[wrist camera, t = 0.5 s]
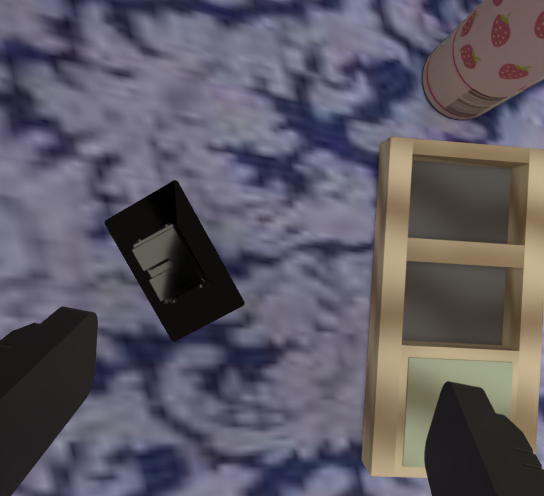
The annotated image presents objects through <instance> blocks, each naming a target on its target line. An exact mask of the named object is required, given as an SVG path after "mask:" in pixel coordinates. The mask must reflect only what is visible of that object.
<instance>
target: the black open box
mask: <svg viewBox="0 0 544 496" xmlns="http://www.w3.org/2000/svg"><path fill="white" fill-rule="evenodd" d="M105 225H106V227H107V229H108V230H109V232H110V234H111V236H112V237H113V239H114V241H115V243H116V244H117V246H118V248H119V250H120V251H121V253H122V255H123V257H124V258H125V260H126V262H127V264H128V265H129V267H130V269H131V271H132V272H133V274H134V276H135V278H136V279H137V281H138V283H139V284H140V286H141V288H142V290H143V291H144V293H145V295H146V297H147V298H148V300H149V302H150V304H151V305H152V307H153V309H154V311H155V312H156V314H157V316H158V318H159V319H160V321H161V323H162V325H163V326H164V328H165V330H166V332H167V333H168V335H169V337H170V339H171V340H172V341H177V340H179V339H180V338H182V337H184V336H186V335H188V334H190V333H192V332H194V331H196V330H198V329H200V328H202V327H203V326H205V325H207V324H209V323H211V322H213V321H215V320H217V319H219V318H221V317H223V316H225V315H226V314H228V313H230V312H232V311H234V310H236V309H238V308H240V307H242V306H243V305H244V304H245V302H244V300H243V299H242V297H241V295H240V293H239V291H238V290H237V288H236V286H235V284H234V282H233V281H232V279H231V277H230V275H229V273H228V271H227V270H226V268H225V266H224V264H223V262H222V261H221V259H220V257H219V255H218V253H217V252H216V250H215V248H214V246H213V244H212V243H211V241H210V239H209V237H208V235H207V234H206V232H205V230H204V228H203V226H202V224H201V223H200V221H199V219H198V217H197V215H196V214H195V212H194V210H193V208H192V206H191V205H190V203H189V201H188V199H187V197H186V196H185V194H184V192H183V190H182V188H181V187H180V185H179V183H178V181H176V180H174V181H172V182H170V183H169V184H167V185H165V186H164V187H162V188H160V189H159V190H157V191H155V192H153V193H152V194H150V195H148V196H147V197H145V198H143V199H141V200H140V201H138V202H136V203H135V204H133V205H131V206H129V207H128V208H126V209H124V210H123V211H121V212H119V213H118V214H116V215H114V216H112V217H111V218H109V219H107V220H106V221H105Z"/></svg>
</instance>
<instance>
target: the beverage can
mask: <svg viewBox="0 0 544 496" xmlns="http://www.w3.org/2000/svg"><path fill="white" fill-rule="evenodd" d="M543 79H544V0H484V1H483V2H482V3H481V4H480V5H479V6H478V7H477V8H476V9H475V10H474V11H473V12H472V13H471V14H470V15H469V16H468V17H467V18H466V19H465V20H464V21H463V22H462V23H461V24H460V25H459V26H458V27H457V28H456V29H455V30H454V31H453V32H452V33H451V34H450V35H449V36H448V37H447V38H446V39H445V40H444V41H443V42H442V43H441V44H440V45H439V46H438V47H437V48H436V49H435V50H434V51H433V52H432V53H431V55H430V56H429V57H428V59H427V61H426V64H425V66H424V71H423V85H424V90H425V93H426V95H427V97H428V99H429V101H430V102H431V104H432V105H433V106H434V107H435V108H436V109H437V110H438V111H439V112H441V113H443V114H444V115H446V116H448V117H451V118H454V119H461V120H465V119H472V118H475V117H478V116H480V115H482V114H484V113H485V112H487V111H489V110H491V109H492V108H494V107H496V106H498V105H500V104H501V103H503V102H505V101H507V100H508V99H510V98H512V97H514V96H515V95H517V94H519V93H521V92H522V91H524V90H526V89H528V88H529V87H531V86H533V85H535V84H536V83H538V82H540V81H542V80H543Z"/></svg>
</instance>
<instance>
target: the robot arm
mask: <svg viewBox="0 0 544 496" xmlns="http://www.w3.org/2000/svg"><path fill="white" fill-rule="evenodd" d="M97 326H98V320H97V315H96V314H95V313H94V312H89V311H84V310H79V309H74V308H68V307H60V308H59V309H58V310H56V311H55V312H54V313H53V314H52V315H50V316H49V317H48V318H47V319H46V320H44V321H43V322H42V323H41V324H38V323H32V324H30V325H27V326H24V327H22V328H19V329H17V330H14V331H12V332H10V333H9V334H8V335H7V336H5V337H4V338H3V339H1V340H0V496H11V495H12V494H13V493H14V491H15V490H16V489H17V487H18V486H19V485H20V484H21V482H22V481H23V480H24V478H25V477H26V476H27V474H28V473H29V472H30V471H31V469H32V468H33V467H34V465H35V464H36V463H37V461H38V460H39V459H40V458H41V456H42V455H43V454H44V452H45V451H46V450H47V449H48V447H49V446H50V445H51V443H52V442H53V441H54V439H55V438H56V437H57V436H58V434H59V433H60V432H61V430H62V429H63V428H64V426H65V425H66V424H67V423H68V421H69V420H70V419H71V417H72V416H73V415H74V413H75V412H76V411H77V410H78V408H79V407H80V406H81V404H82V403H83V402H84V401H85V399H86V398H87V396H88V394H89V392H90V390H91V387H92V384H93V380H94V375H95V363H96V345H97ZM424 463H425V469H426V473H427V477H428V481H429V485H430V489H431V493H432V496H544V470H543V469H542V468H541V467H542V465H541V464H540V462H539V460H538V458H537V456H536V455H535V454H533V449H532V448H531V446H530V444H529V442H528V440H527V439H526V437H525V435H524V433H523V432H522V431H521V430H520V429H519V428H518V427H517V426H516V425H515V424H514V423H513V422H511V421H510V420H509V419H508V418H507V417H506V416H505V415H502V414H497V413H495V411H494V409H493V407H492V405H491V403H490V401H489V399H488V397H487V395H486V393H485V391H484V390H483V389H482V388H481V387H476V386H471V385H465V384H460V383H455V382H450V381H447V382H445V383H444V385H443V387H442V389H441V392H440V396H439V399H438V402H437V405H436V409H435V412H434V415H433V419H432V422H431V425H430V428H429V432H428V435H427V439H426V443H425V451H424Z"/></svg>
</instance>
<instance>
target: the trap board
mask: <svg viewBox="0 0 544 496" xmlns="http://www.w3.org/2000/svg"><path fill="white" fill-rule="evenodd" d="M543 305H544V149H533V148H521V147H509V146H497V145H484V144H472V143H460V142H448V141H436V140H424V139H412V138H399V137H390V138H389V139H387V140H386V141H385V142H383V143H382V144H381V145H380V152H379V169H378V186H377V203H376V220H375V237H374V254H373V271H372V289H371V306H370V323H369V340H368V357H367V374H366V391H365V408H364V425H363V442H362V459H361V461H362V462H363V464H364V466H365V467H366V469H367V470H368V472H369V473H370V475H371V476H382V477H416V478H428V477H427V473H426V469H425V463H424V451H425V443H426V439H427V435H428V432H429V428H430V425H431V422H432V419H433V415H434V412H435V409H436V405H437V402H438V399H439V396H440V392H441V389H442V387H443V385H444V383H445V382H447V381H450V382H455V383H460V384H465V385H471V386H476V387H481V388H482V389H483V390H484V391H485V393H486V395H487V397H488V399H489V401H490V403H491V405H492V407H493V409H494V411H495V413H497V414H502V415H505V416H506V417H507V418H508V419H509V420H510V421H511V422H513V423H514V424H515V425H516V426H517V427H518V428H519V429H520V430H521V431H522V432H523V433H524V435H525V437H526V439H527V440H528V442H529V444H530V446H531V448H532V449H533V454H535V455H536V438H537V419H538V400H539V381H540V362H541V343H542V324H543Z"/></svg>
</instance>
